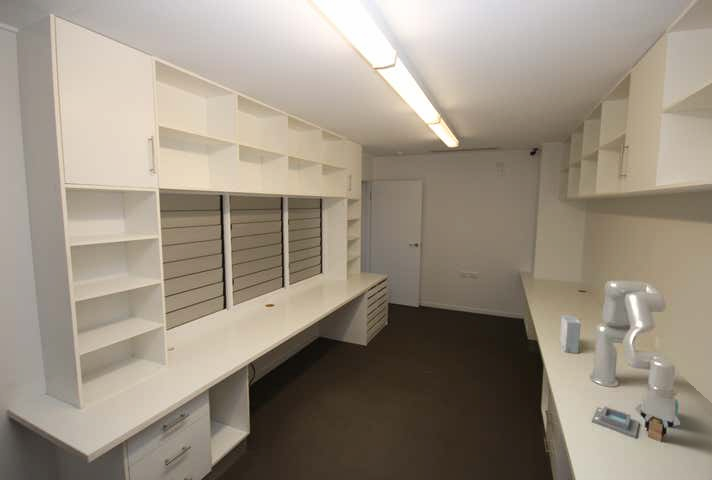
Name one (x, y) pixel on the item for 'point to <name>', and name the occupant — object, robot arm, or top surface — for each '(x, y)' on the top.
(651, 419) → the wooden block with knob
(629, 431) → the frame
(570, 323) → the hard drive box
